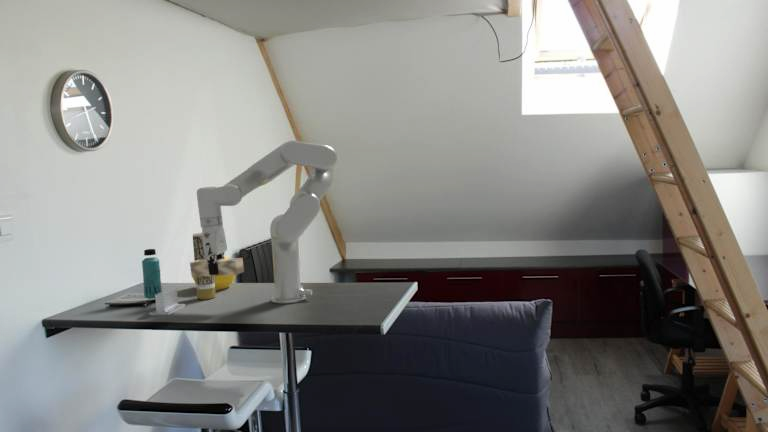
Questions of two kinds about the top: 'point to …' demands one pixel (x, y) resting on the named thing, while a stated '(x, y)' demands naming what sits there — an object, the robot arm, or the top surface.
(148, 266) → the beverage bottle
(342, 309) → the top surface
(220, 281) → the vase
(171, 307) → the fulcrum
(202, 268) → the beam
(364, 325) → the top surface
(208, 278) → the brown bark cylinder
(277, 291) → the robot arm
